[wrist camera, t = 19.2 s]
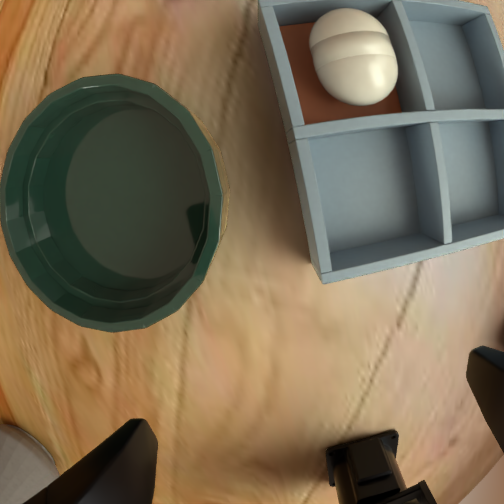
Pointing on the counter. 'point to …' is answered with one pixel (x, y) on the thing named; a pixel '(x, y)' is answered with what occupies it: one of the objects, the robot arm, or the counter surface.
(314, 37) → the egg
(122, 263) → the bowl
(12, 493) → the coffee pot
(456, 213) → the divided tray
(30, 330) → the counter surface
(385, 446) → the robot arm
